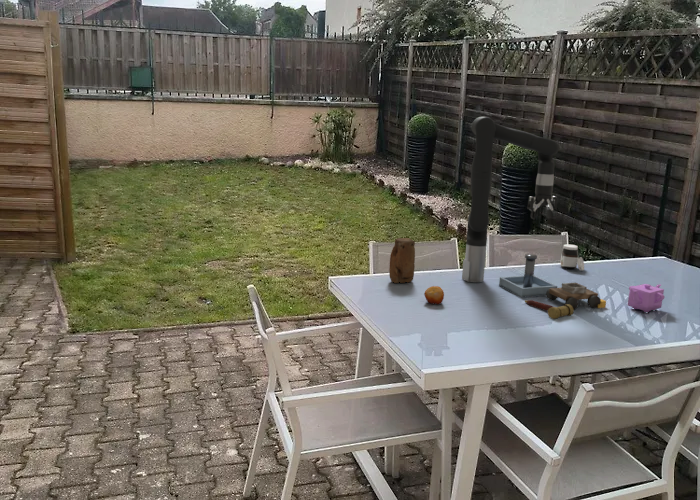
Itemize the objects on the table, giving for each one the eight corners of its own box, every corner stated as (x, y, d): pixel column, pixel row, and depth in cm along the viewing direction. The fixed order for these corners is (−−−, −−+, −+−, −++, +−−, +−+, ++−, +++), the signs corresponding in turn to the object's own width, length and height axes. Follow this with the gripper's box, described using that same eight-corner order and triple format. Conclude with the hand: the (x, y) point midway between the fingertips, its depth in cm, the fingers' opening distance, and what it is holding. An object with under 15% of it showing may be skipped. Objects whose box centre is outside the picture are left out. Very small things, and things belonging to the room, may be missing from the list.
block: (405, 278, 297) (407, 236, 292) (415, 282, 291) (417, 239, 286) (386, 281, 291) (388, 238, 287) (396, 285, 285) (398, 242, 280)
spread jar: (558, 264, 332) (561, 243, 329) (581, 266, 330) (583, 244, 327) (562, 270, 320) (565, 248, 317) (586, 272, 319) (588, 250, 316)
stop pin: (525, 290, 281) (529, 256, 278) (519, 286, 286) (522, 254, 282) (535, 289, 283) (539, 256, 279) (529, 285, 288) (532, 253, 284)
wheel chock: (598, 308, 263) (599, 301, 262) (593, 305, 266) (594, 299, 265) (605, 307, 264) (606, 301, 263) (600, 305, 267) (601, 298, 266)
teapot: (623, 302, 272) (627, 278, 269) (657, 305, 269) (661, 281, 266) (629, 313, 258) (633, 288, 255) (665, 317, 254) (669, 291, 252)
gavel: (516, 297, 264) (533, 294, 269) (516, 308, 264) (533, 304, 270) (557, 309, 246) (574, 305, 251) (556, 320, 247) (573, 316, 252)
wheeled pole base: (567, 310, 258) (569, 291, 257) (545, 299, 272) (547, 281, 270) (599, 307, 264) (602, 289, 262) (576, 296, 277) (578, 279, 275)
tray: (521, 297, 273) (522, 288, 272) (499, 285, 290) (499, 277, 289) (556, 294, 279) (557, 286, 278) (532, 283, 296) (533, 275, 295)
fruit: (447, 297, 265) (445, 284, 260) (442, 311, 260) (440, 298, 255) (429, 294, 269) (427, 281, 263) (423, 308, 264) (421, 295, 258)
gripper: (536, 185, 283) (532, 220, 287) (562, 184, 287) (558, 219, 291) (526, 182, 290) (523, 217, 294) (552, 182, 294) (548, 216, 298)
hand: (540, 218), depth 292 cm, fingers open, 8 cm apart
